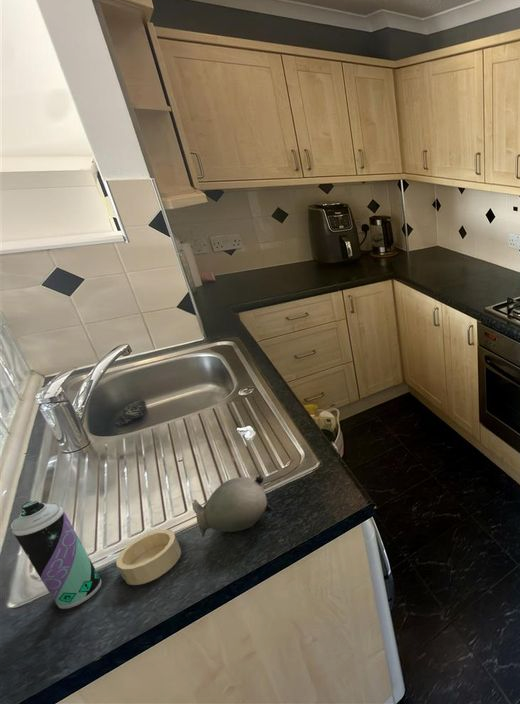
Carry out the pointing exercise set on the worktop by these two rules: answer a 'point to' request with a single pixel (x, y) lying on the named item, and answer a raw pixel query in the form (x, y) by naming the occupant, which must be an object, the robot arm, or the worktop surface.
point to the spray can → (56, 553)
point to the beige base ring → (148, 557)
